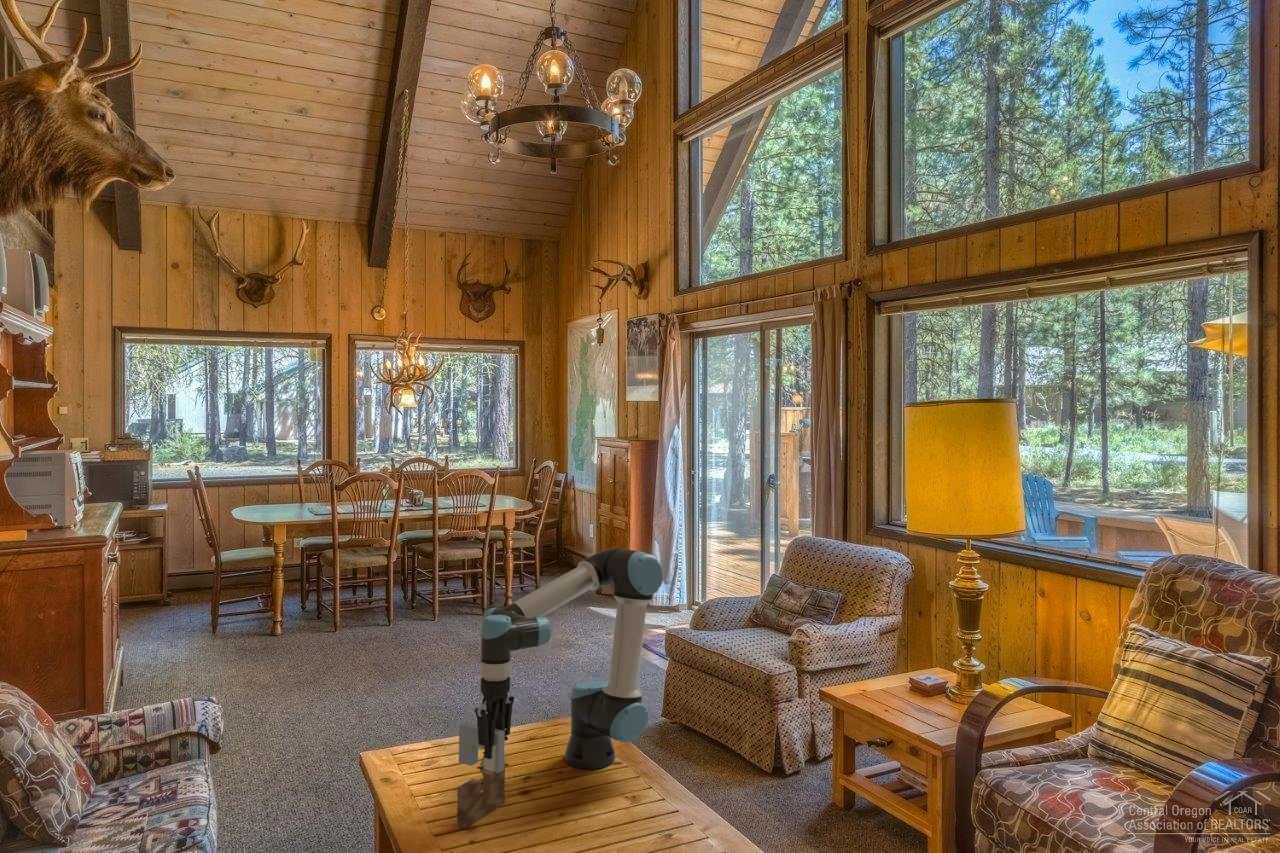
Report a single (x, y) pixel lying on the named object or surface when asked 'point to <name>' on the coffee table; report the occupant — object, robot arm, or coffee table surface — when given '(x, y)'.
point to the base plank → (480, 798)
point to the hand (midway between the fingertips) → (494, 767)
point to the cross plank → (470, 745)
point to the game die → (484, 765)
